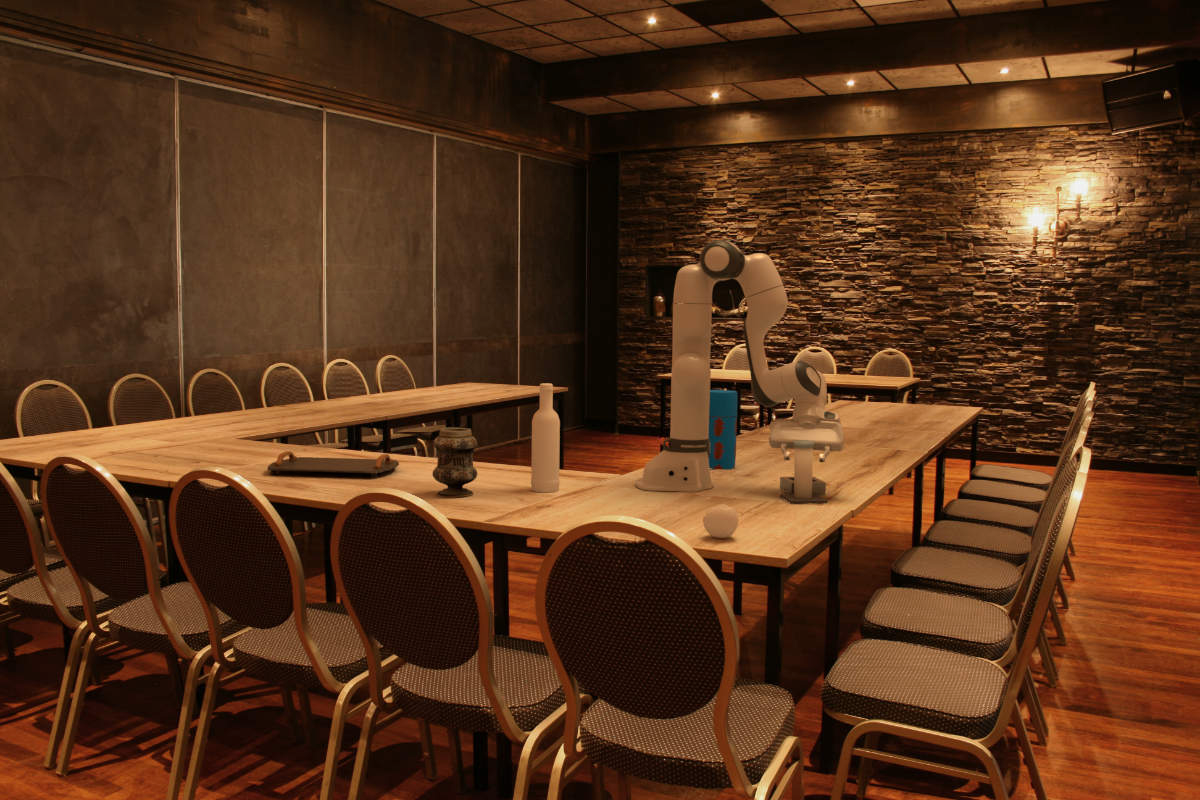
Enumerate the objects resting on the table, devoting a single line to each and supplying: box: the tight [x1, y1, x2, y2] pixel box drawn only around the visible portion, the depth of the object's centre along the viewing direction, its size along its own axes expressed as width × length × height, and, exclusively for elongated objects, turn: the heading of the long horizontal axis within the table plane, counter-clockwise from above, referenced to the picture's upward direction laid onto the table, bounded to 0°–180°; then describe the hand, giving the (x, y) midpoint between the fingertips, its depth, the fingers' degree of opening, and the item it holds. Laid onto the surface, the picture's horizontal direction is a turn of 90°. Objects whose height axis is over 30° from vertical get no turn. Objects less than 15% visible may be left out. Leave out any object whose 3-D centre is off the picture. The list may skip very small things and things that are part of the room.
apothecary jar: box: [432, 427, 478, 498], centre depth 264 cm, size 12×12×18 cm
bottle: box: [530, 382, 561, 494], centre depth 272 cm, size 8×8×30 cm
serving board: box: [267, 450, 400, 480], centre depth 298 cm, size 39×23×6 cm, turn 85°
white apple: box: [702, 504, 739, 539], centre depth 219 cm, size 8×8×8 cm
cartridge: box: [793, 440, 814, 499], centre depth 264 cm, size 5×5×15 cm
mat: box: [779, 493, 828, 505], centre depth 265 cm, size 10×10×1 cm
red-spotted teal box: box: [708, 389, 738, 470], centre depth 318 cm, size 11×11×25 cm
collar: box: [779, 476, 827, 496], centre depth 277 cm, size 10×10×4 cm
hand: (804, 460), depth 264 cm, fingers open, 8 cm apart
